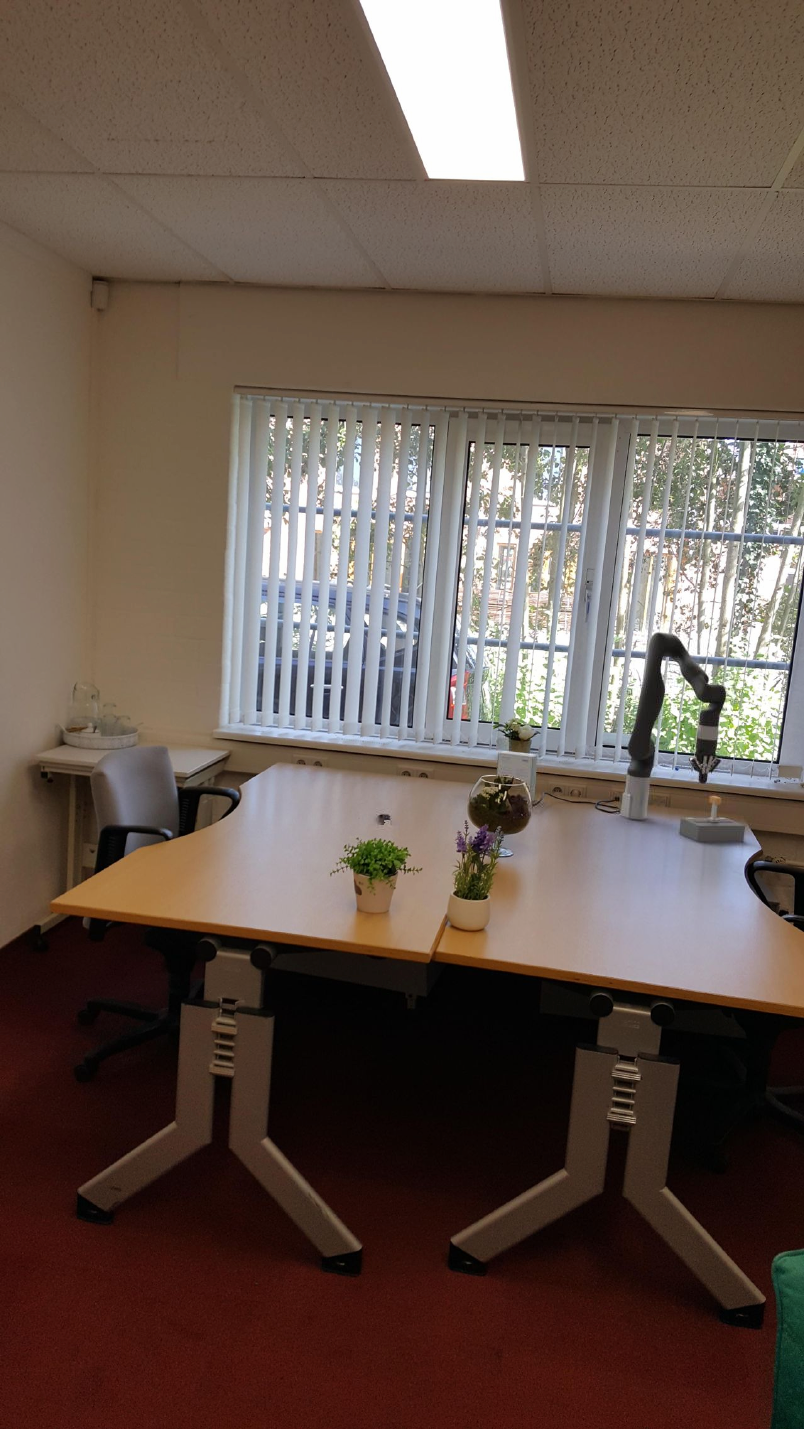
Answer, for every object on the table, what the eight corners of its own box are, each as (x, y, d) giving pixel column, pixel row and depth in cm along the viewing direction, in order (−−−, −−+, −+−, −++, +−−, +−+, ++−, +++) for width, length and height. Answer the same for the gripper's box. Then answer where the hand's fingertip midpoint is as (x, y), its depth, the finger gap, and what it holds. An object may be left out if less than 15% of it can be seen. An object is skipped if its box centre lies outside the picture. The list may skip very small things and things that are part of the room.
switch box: (697, 841, 357) (698, 825, 356) (679, 833, 369) (680, 817, 368) (743, 841, 363) (745, 825, 362) (724, 833, 374) (726, 817, 374)
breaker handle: (712, 822, 363) (715, 798, 361) (706, 819, 366) (709, 795, 365) (719, 822, 363) (722, 798, 362) (713, 820, 367) (716, 795, 366)
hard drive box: (534, 801, 408) (538, 754, 406) (529, 804, 401) (533, 757, 399) (499, 795, 415) (503, 749, 412) (493, 798, 408) (497, 752, 405)
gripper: (697, 738, 354) (692, 785, 356) (728, 739, 358) (723, 785, 360) (686, 735, 361) (681, 781, 363) (716, 736, 365) (711, 781, 367)
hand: (702, 783), depth 361 cm, fingers closed
